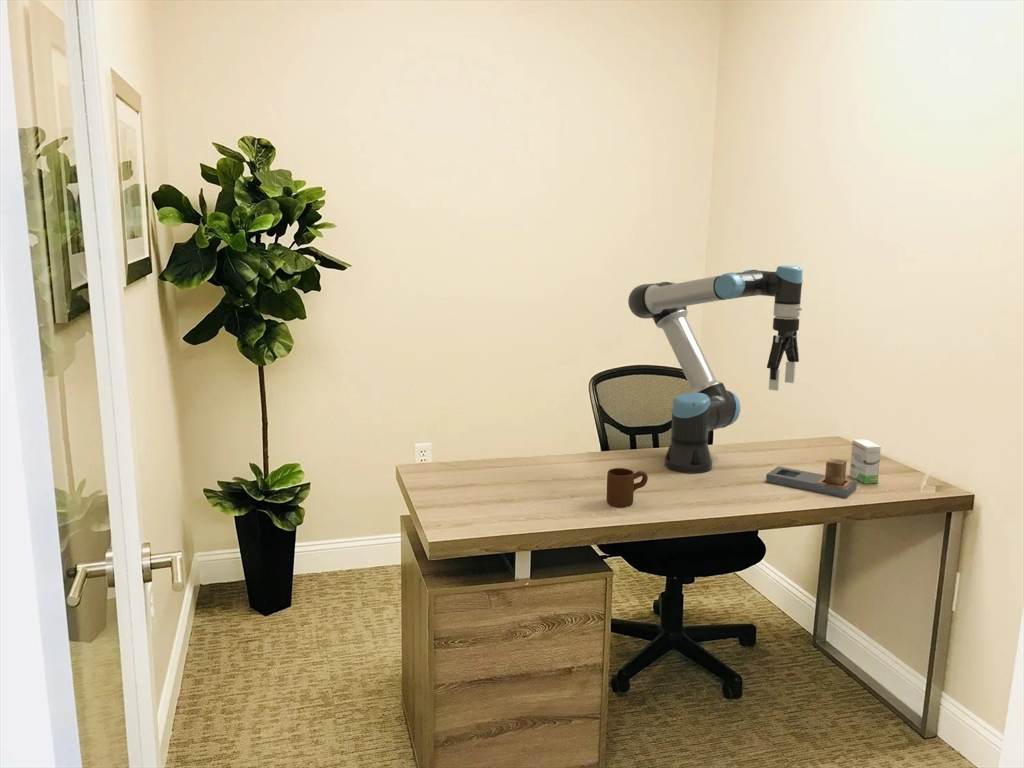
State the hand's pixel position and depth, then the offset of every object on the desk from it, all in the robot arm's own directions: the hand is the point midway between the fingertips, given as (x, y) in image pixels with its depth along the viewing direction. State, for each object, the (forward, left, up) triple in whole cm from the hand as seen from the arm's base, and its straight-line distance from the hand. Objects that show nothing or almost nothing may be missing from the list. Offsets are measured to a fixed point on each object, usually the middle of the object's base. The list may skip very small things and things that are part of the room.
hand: (781, 386), depth 261 cm
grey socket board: (+12, -3, -29) cm, 31 cm away
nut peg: (+19, -3, -29) cm, 35 cm away
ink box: (+23, +13, -29) cm, 39 cm away
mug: (-25, -50, -29) cm, 63 cm away
